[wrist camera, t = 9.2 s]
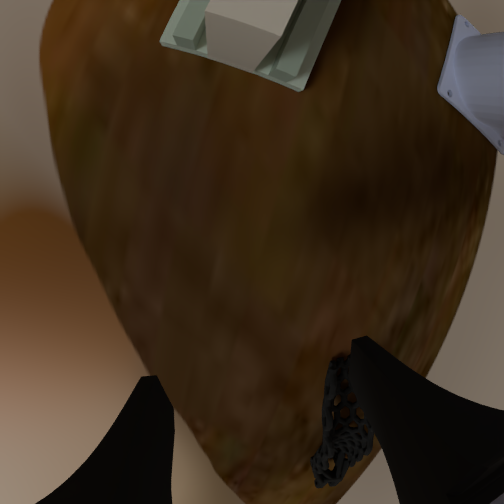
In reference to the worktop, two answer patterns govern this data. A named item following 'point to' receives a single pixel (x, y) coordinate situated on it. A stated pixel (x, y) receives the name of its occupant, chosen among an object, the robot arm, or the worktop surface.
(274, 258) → the worktop surface
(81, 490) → the robot arm
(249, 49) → the beige rectangular block
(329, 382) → the decorative element
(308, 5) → the rack
